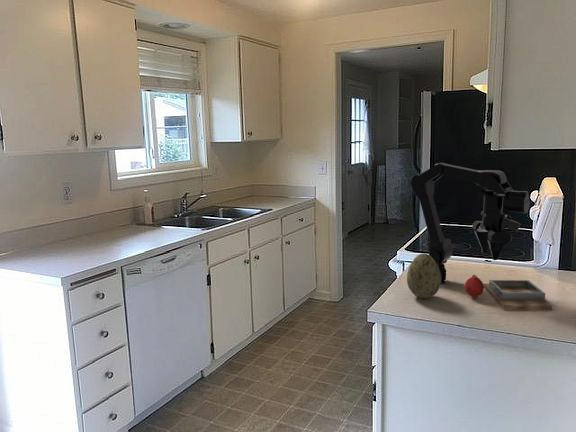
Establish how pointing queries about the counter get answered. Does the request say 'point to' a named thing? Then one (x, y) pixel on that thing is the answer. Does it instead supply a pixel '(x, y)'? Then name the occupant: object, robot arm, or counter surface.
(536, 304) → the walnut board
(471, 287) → the onion
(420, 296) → the decorative egg
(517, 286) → the square metal frame
